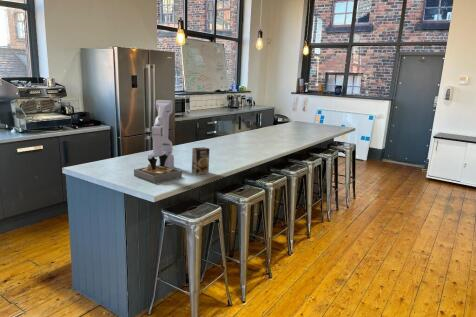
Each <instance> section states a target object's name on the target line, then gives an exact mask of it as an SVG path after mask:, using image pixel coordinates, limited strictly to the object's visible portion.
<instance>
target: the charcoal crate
mask: <svg viewBox="0 0 476 317" xmlns="http://www.w3.org/2000/svg"><path fill="white" fill-rule="evenodd" d="M156 166H160V165H159V164H156ZM164 167H166V168H170V169H173V172H171V173H166V174H161V175H156V176H153V175H150V174H148V173H145V172H142V171H141V170H143V169H146V168H148V166H146V167H140V168H134V169H133V176H134V177H136V178H138V179H142V180H143V181H144V180H145V181H146V182H149V183H152V184H157V183H162V182H167V181H171V180H175V179H181V178H182V177H183V173H182V172H183V170H180V169H176V168H175V167H174V168H171V167H168V166H165V165H164Z"/></svg>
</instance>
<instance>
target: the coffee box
mask: <svg viewBox="0 0 476 317" xmlns="http://www.w3.org/2000/svg"><path fill="white" fill-rule="evenodd" d="M191 151H192V153H191V154H192V156H191V157H192V158H191V173H192V174H194V175H195V176H199V175H200V174H201V175H207V173H208V174H210V172H209V171H210V169H209V168H210V148H208V147H205V146H204V147H203V146H202V147H192V150H191Z"/></svg>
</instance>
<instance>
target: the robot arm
mask: <svg viewBox="0 0 476 317" xmlns="http://www.w3.org/2000/svg"><path fill="white" fill-rule="evenodd" d="M173 105H174V104H173V101H172V100H170V99H167V100H166V99H165V100H164V99H157V100H156V101H155V109H156V111H157V116H156V117H155V118H154V124H153V126H152V127H151V138H152V152H151V153H150V154H148V155H147V156H148V157H147V160H148V162H149V164H151V168H152V170H155V169H156V165H157V162H158V165H160V166H161V167H164V165H165V166H168V167H171V168H174V169H175V156H174V154H173V142H172V141H171V140H170V139H169V125H170V124H169V123H170V122H169V120H170V119H169V118H170V115H171V114H172V113H173V109H174V108H173V107H174V106H173ZM157 158H158V159H157Z"/></svg>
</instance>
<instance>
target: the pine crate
mask: <svg viewBox="0 0 476 317" xmlns="http://www.w3.org/2000/svg"><path fill="white" fill-rule="evenodd" d="M147 167H148V168H146V169H143V170H141V171H142V172H145V173H148V174H150V175H153V176H156V175H161V174H166V173H171V172H173V169H170V168H166V167H161V166H156V169H155V170H152V168H151V164H150V163H149V164H147Z"/></svg>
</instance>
